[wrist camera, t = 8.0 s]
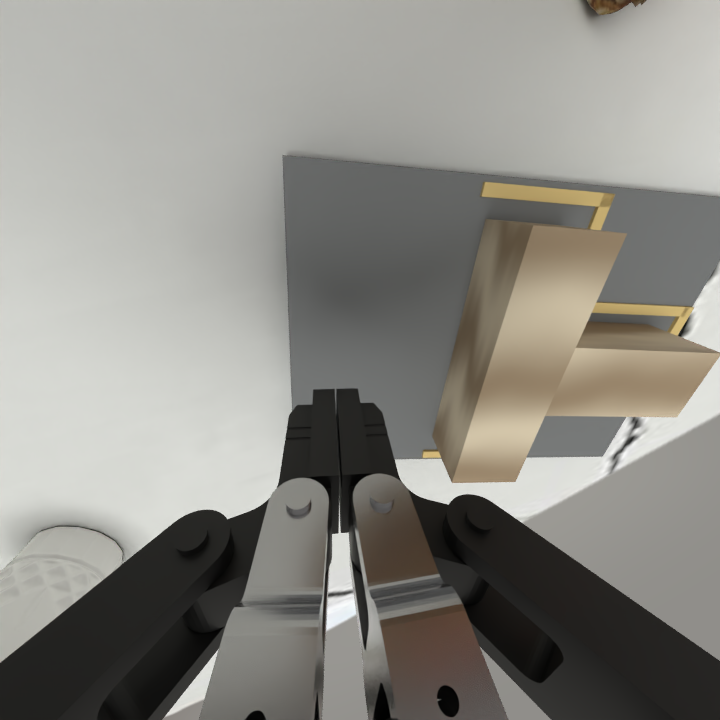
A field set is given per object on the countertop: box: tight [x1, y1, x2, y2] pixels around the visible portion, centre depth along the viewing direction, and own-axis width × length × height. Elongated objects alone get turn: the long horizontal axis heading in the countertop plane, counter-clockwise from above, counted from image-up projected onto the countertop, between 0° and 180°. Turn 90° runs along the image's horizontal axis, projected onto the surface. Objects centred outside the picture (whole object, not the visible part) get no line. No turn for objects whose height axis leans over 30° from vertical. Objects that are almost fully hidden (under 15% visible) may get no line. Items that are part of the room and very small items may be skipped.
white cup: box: [0, 527, 123, 662], centre depth 21 cm, size 8×8×10 cm
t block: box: [432, 219, 720, 483], centre depth 17 cm, size 14×12×4 cm
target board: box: [283, 155, 720, 459], centre depth 19 cm, size 18×24×1 cm
